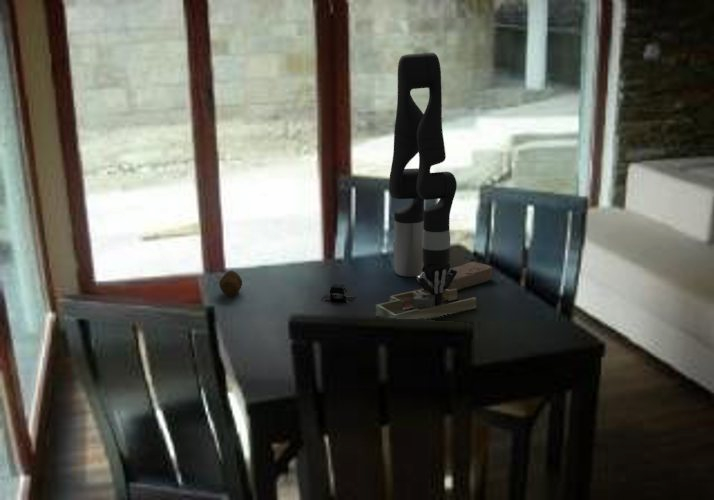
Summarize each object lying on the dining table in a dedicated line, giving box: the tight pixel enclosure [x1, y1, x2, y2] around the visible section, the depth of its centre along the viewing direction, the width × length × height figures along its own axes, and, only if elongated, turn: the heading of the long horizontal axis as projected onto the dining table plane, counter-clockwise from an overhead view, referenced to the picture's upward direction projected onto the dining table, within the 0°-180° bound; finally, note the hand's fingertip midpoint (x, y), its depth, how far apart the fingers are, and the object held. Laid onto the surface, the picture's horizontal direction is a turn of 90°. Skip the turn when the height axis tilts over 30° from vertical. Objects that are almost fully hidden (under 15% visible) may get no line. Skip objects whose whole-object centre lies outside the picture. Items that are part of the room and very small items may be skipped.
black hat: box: [319, 283, 357, 304], centre depth 239 cm, size 12×7×5 cm, turn 75°
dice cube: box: [412, 293, 435, 310], centre depth 226 cm, size 5×5×5 cm
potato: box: [219, 270, 243, 298], centre depth 244 cm, size 7×12×7 cm, turn 9°
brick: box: [445, 261, 494, 291], centre depth 251 cm, size 17×8×5 cm, turn 126°
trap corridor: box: [375, 288, 477, 319], centre depth 229 cm, size 15×27×4 cm, turn 120°
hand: (436, 305), depth 228 cm, fingers closed
